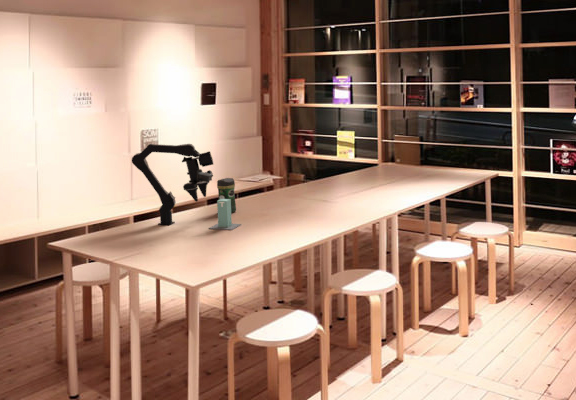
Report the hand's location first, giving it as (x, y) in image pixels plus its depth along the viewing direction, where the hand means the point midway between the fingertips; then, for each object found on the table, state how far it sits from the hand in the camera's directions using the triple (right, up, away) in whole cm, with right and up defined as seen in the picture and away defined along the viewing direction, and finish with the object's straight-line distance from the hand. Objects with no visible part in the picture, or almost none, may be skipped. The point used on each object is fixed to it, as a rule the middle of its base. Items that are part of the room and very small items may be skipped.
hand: (200, 199), depth 352 cm
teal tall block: (+13, -13, -9) cm, 21 cm away
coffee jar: (+11, -7, +26) cm, 29 cm away
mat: (+13, -14, -9) cm, 21 cm away
